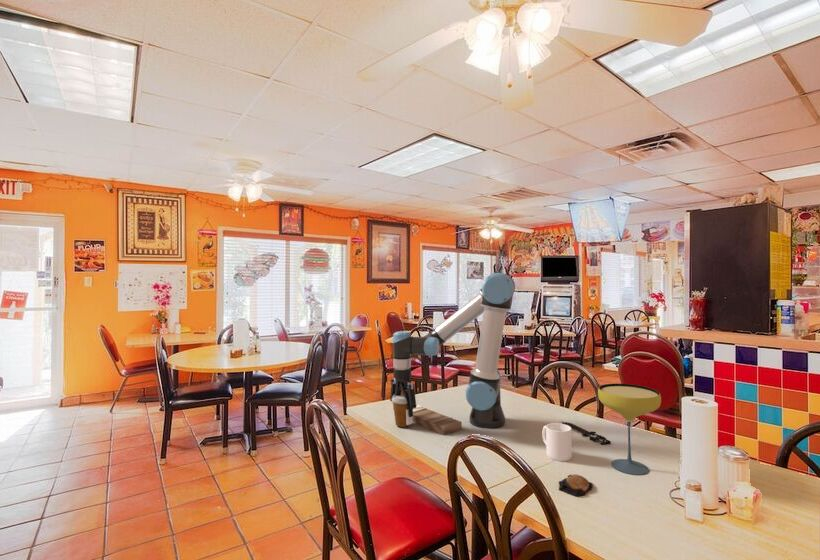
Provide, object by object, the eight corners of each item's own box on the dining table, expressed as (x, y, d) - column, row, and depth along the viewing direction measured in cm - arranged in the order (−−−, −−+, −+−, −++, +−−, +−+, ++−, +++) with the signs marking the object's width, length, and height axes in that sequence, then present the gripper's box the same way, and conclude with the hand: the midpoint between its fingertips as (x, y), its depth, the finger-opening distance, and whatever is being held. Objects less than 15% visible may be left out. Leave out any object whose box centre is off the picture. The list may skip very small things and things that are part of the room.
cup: (558, 463, 137) (558, 433, 137) (534, 450, 148) (533, 422, 148) (577, 458, 141) (576, 429, 141) (551, 446, 152) (551, 418, 152)
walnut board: (461, 429, 170) (461, 421, 170) (443, 435, 164) (443, 427, 164) (414, 410, 195) (413, 403, 195) (396, 414, 189) (396, 407, 189)
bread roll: (568, 478, 129) (568, 466, 129) (596, 486, 123) (596, 474, 123) (554, 491, 121) (553, 478, 121) (583, 501, 115) (583, 488, 115)
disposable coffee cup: (415, 420, 180) (414, 393, 179) (413, 428, 170) (412, 399, 170) (393, 420, 180) (393, 392, 180) (390, 428, 171) (390, 399, 171)
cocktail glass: (598, 452, 146) (596, 381, 145) (656, 459, 139) (655, 385, 139) (600, 474, 129) (599, 395, 129) (667, 485, 122) (666, 400, 122)
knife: (558, 423, 176) (558, 420, 176) (571, 422, 177) (571, 419, 177) (598, 447, 151) (598, 443, 151) (613, 444, 153) (613, 441, 153)
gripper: (424, 370, 169) (425, 426, 169) (395, 363, 186) (395, 413, 186) (410, 373, 165) (411, 430, 165) (381, 365, 181) (382, 416, 181)
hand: (403, 421), depth 175 cm, fingers closed on disposable coffee cup, 8 cm apart
